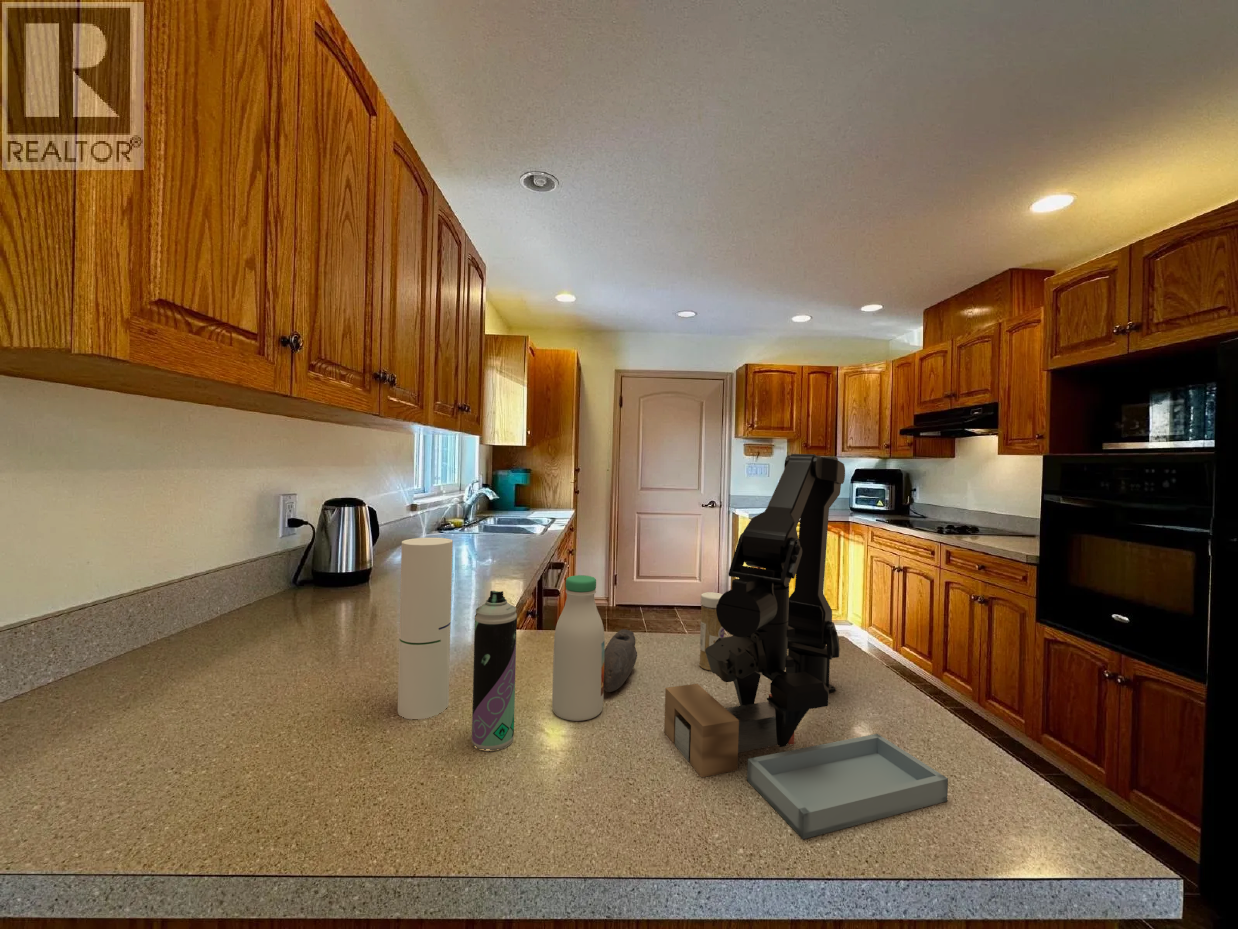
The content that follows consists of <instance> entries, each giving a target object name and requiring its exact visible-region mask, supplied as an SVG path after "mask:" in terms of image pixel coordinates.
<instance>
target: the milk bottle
mask: <svg viewBox="0 0 1238 929" xmlns="http://www.w3.org/2000/svg"><path fill="white" fill-rule="evenodd" d="M596 588H597V579H596V577H594V576H591V575H580V574H578V575H577V574H576V575H571V576H568V577H567V578H566V579H565V593H566V600H565V603H564V607H563V609H562V611H561V614H560V616H559V617H558V620H557V623H556V625H555V630H554V635H553V636H554V638H553V639H554V640H553V658H552V659H553V662H552V692H551V693H552V695H551V708H552V711H553V713H554V714H555V715H556V716H557V717H559V718H560V719H564V720H568V721H573V722H574V721H575V722H577V721H578V722H581V721H586V720H587V721H588V720H592V719H594V718H595V717H597V716H599V715H600V714H601V712H602V711H603V708H604V691H605V690H604V652H605V648H606V646H605V641H606V640H605V628H604V624H603V620H602V617H601V615H600V613H599V610H598V607H597V604H596V600H595V594H597V591H596V590H597V589H596Z"/></svg>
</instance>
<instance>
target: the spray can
mask: <svg viewBox="0 0 1238 929" xmlns="http://www.w3.org/2000/svg"><path fill="white" fill-rule="evenodd" d="M489 593H490V594H489V597H488V599H486V600H485V603H484V604H482V605H480V606H478V607H477V608H476V609H475V615H474V629H473V630H474V632H473V633H474V634H473V671H472V673H473V674H472V679H473V680H472V710H471V711H472V714H471V715H472V717H471V744H472V743H473V745H474V746H476V747H477V748H479V749H484V750H486V749H490V750H497V749H501V750H504V749H506V748H507V746H508V747H509V746H510V745H511V744H512V743H513V742H514V738H515V737H514V736H515V702H516V701H515V699H516V666H517V664H516V662H517V661H516V660H517V629H518V628H517V627H518V626H517V623H518V621H517V620H518V617H517V616H518V613H517V607H516V606H515V605H512V604H511V603H509V602H508V600H507V599H506V597H505V596H504V591H503V590H502V591H496V590H490V592H489ZM473 745H472V746H473ZM503 748H504V749H503Z"/></svg>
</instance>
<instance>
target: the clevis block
mask: <svg viewBox="0 0 1238 929" xmlns="http://www.w3.org/2000/svg"><path fill="white" fill-rule="evenodd" d="M664 694H665V699H664V726H663V728H664V729H663V730H664V731H663V732H664V733H665V734H666V736H667V737H668V738H669V740H670V741H671V742H672V744H675V719H676V716H677V715H682V716H683V717H684V718H685V719H686V721H687V722H688V723H689V724H690V725H691V744H690V762H689V764H690V765H691V766H692V768H693V769H694V770H695V771H696V773H697V774H698V775H699V776H700V777H701V778H705V777H710V776H715V775H722V774H725V773H726V774H727V773H730V772H736V771H738V768H739V767H738V766H739V765H738V764H739V762H738V760H739V753H738V735H739V720H738V719H737V718H736V717H735V716H733V715H732V714H731V713H730V712H729V711H728V710H727V709H726V708H727V707H725V706H723V705H722V704H721V703H720V702H719V701H718V700H717V699H715V698H714V697H713V696H712V695H711V694H710V693H709V692H708V691H707V690H705V689H704V688H703V687H702V686H701V685H700V684H698V683H693V684H683V685H676V686H669V687H665V693H664Z"/></svg>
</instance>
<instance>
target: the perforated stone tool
mask: <svg viewBox="0 0 1238 929" xmlns="http://www.w3.org/2000/svg"><path fill="white" fill-rule="evenodd" d="M637 658H638V652H637V648H636V637H635V634H634V631H631V630H629V629H626V628H625V629H624V628H621V629H619V631H617V632H616V633H614V635H612V637H611V639H609V641H608V643H607V645H606V646H605V652H604V691H605V692H606V693H612V692H615V691H616V690H618V689H619V688H621V687H622V686H623V684H624V683H625V681H627V679H628V678H629V677H630V675H631V673H632V671H633V670H634V667H635V665H636V661H637Z"/></svg>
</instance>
